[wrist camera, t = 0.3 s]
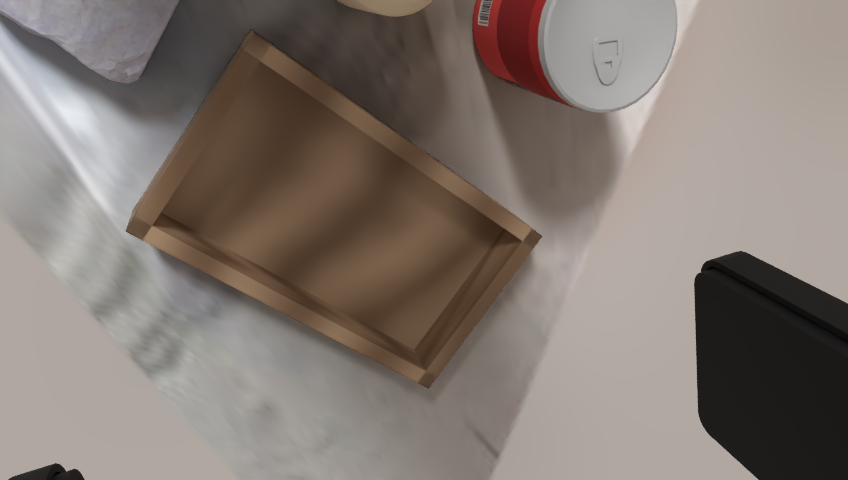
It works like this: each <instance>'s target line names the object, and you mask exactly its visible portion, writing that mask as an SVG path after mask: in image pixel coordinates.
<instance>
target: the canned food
mask: <svg viewBox="0 0 848 480" xmlns="http://www.w3.org/2000/svg"><path fill="white" fill-rule="evenodd" d="M676 33H677V9H676V4H675V0H477V1H476V3H475V7H474V13H473V35H474V41H475V44H476V47H477V50H478V52H479V55H480V57H481V58H482V60H483V62H484V64H485V65H486V66H487V67H488V69H489V70H490V71H491V72H492V73H493V74H494V75H495V76H497V77H498V78H499V79H501V80H503V81H505V82H507V83H509V84H512V85H514V86H517V87H520V88H522V89H525V90H528V91H530V92H533V93H536V94H538V95H541V96H544V97H546V98H549V99H552V100H554V101H557V102H560V103H562V104H565V105H568V106H571V107H575V108H577V109H580V110H584V111H590V112H597V113H605V112H614V111H617V110H621V109H624V108H626V107H628V106H630V105H632V104H634V103H636V102H637V101H639V100H640V99H641V98H642V97H644V96H645V95H646V94H647V93H648V92H649V91H650V90H651V89H652V88H653V87H654V86H655V84H656V83H657V82H658V80H659V79H660V77H661V76H662V74H663V73H664V71H665V69H666V67H667V65H668V63H669V60H670V58H671V56H672V52H673V49H674V45H675V41H676Z"/></svg>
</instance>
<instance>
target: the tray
mask: <svg viewBox="0 0 848 480" xmlns="http://www.w3.org/2000/svg"><path fill="white" fill-rule="evenodd" d="M126 232H128V233H130V234H131V235H133V236H135V237H137V238H139V239H141V240H143V241H145V242H147V243H149V244H151V245H153V246H155V247H157V248H158V249H160V250H162V251H164V252H166V253H168V254H170V255H172V256H174V257H176V258H178V259H180V260H182V261H184V262H185V263H187V264H189V265H191V266H193V267H195V268H197V269H199V270H201V271H203V272H205V273H207V274H209V275H211V276H212V277H214V278H216V279H218V280H220V281H222V282H224V283H226V284H228V285H230V286H232V287H234V288H236V289H238V290H239V291H241V292H243V293H245V294H247V295H249V296H251V297H253V298H255V299H257V300H259V301H261V302H263V303H265V304H267V305H268V306H270V307H272V308H274V309H276V310H278V311H280V312H282V313H284V314H286V315H288V316H290V317H292V318H294V319H295V320H297V321H299V322H301V323H303V324H305V325H307V326H309V327H311V328H313V329H315V330H317V331H319V332H321V333H322V334H324V335H326V336H328V337H330V338H332V339H334V340H336V341H338V342H340V343H342V344H344V345H346V346H348V347H349V348H351V349H353V350H355V351H357V352H359V353H361V354H363V355H365V356H367V357H369V358H371V359H373V360H375V361H376V362H378V363H380V364H382V365H384V366H386V367H388V368H390V369H392V370H394V371H396V372H398V373H400V374H402V375H403V376H405V377H407V378H409V379H411V380H413V381H415V382H417V383H419V384H421V385H423V386H425V387H427V388H429V387H430V386H431V385H432V383H433V382H434V381H435V379H436V378H437V376H438V375H439V374H440V372H441V371H442V370H443V368H444V367H445V366H446V364H447V363H448V362H449V360H450V359H451V358H452V356H453V355H454V354H455V352H456V351H457V350H458V348H459V347H460V346H461V344H462V343H463V342H464V340H465V339H466V338H467V336H468V335H469V334H470V332H471V331H472V330H473V328H474V327H475V326H476V324H477V323H478V322H479V320H480V319H481V318H482V316H483V315H484V314H485V312H486V311H487V310H488V308H489V307H490V306H491V304H492V303H493V302H494V300H495V299H496V298H497V296H498V295H499V294H500V292H501V291H502V290H503V288H504V287H505V285H506V284H507V283H508V281H509V280H510V279H511V277H512V276H513V275H514V273H515V272H516V271H517V269H518V268H519V267H520V265H521V264H522V263H523V261H524V260H525V259H526V257H527V256H528V255H529V253H530V252H531V251H532V249H533V248H534V247H535V245H536V244H537V243H538V241H539V240H540V239H541V237H542V236H541V235H540V234H539V233H537V232H536V231H535V230H534V229H532V228H531V227H530V226H528V225H527V224H526V223H525V222H523V221H522V220H521V219H520V218H518V217H517V216H515V215H514V214H512V213H511V212H510V211H508V210H507V209H505V208H504V207H502V206H501V205H500V204H498V203H497V202H495V201H494V200H493V199H491V198H490V197H488V196H487V195H485V194H484V193H483V192H481V191H480V190H478V189H477V188H476V187H474V186H473V185H471V184H470V183H468V182H467V181H466V180H464V179H463V178H461V177H460V176H458V175H457V174H456V173H454V172H453V171H451V170H450V169H449V168H447V167H446V166H444V165H443V164H441V163H440V162H439V161H437V160H436V159H434V158H433V157H431V156H430V155H429V154H427V153H426V152H424V151H423V150H422V149H420V148H419V147H417V146H416V145H414V144H413V143H412V142H410V141H409V140H407V139H406V138H404V137H403V136H402V135H400V134H399V133H397V132H396V131H395V130H393V129H392V128H390V127H389V126H387V125H386V124H385V123H383V122H382V121H380V120H379V119H378V118H376V117H375V116H373V115H372V114H370V113H369V112H368V111H366V110H365V109H363V108H362V107H360V106H359V105H358V104H356V103H355V102H353V101H352V100H351V99H349V98H348V97H346V96H345V95H343V94H342V93H341V92H339V91H338V90H336V89H335V88H333V87H332V86H331V85H329V84H328V83H326V82H325V81H324V80H322V79H321V78H319V77H318V76H316V75H315V74H314V73H312V72H311V71H309V70H308V69H306V68H305V67H304V66H302V65H301V64H299V63H298V62H297V61H295V60H294V59H292V58H291V57H289V56H288V55H287V54H285V53H284V52H282V51H281V50H280V49H278V48H277V47H275V46H274V45H272V44H271V43H270V42H268V41H267V40H265V39H264V38H262V37H261V36H260V35H258V34H257V33H255V32H254V31H253V30H251V29H250V31H249V32H248V34H247V36H246V37H245V39H244V40H243V42H242V43H241V45H240V46H239V48H238V49H237V51H236V52H235V54H234V55H233V57H232V59H231V60H230V62H229V63H228V65H227V66H226V68H225V69H224V71H223V72H222V74H221V75H220V77H219V79H218V80H217V82H216V83H215V85H214V86H213V88H212V89H211V91H210V92H209V94H208V95H207V97H206V99H205V100H204V102H203V103H202V105H201V106H200V108H199V109H198V111H197V112H196V114H195V115H194V117H193V119H192V120H191V122H190V123H189V125H188V126H187V128H186V129H185V131H184V132H183V134H182V135H181V137H180V139H179V140H178V142H177V143H176V145H175V146H174V148H173V149H172V151H171V152H170V154H169V155H168V157H167V159H166V160H165V162H164V163H163V165H162V166H161V168H160V169H159V171H158V172H157V174H156V175H155V177H154V179H153V180H152V182H151V183H150V185H149V186H148V188H147V189H146V191H145V192H144V194H143V195H142V197H141V199H140V200H139V202H138V203H137V205H136V206H135V208H134V209H133V211H132V214H131V217H130V220H129V223H128V226H127V229H126Z"/></svg>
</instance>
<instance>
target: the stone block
mask: <svg viewBox="0 0 848 480" xmlns="http://www.w3.org/2000/svg"><path fill="white" fill-rule="evenodd" d="M179 1H180V0H0V14H1V15H3V16H4V17H6V18H8V19H10V20H12V21H14V22H16V23H17V24H18V25H19V26H20V27H21V28H23V29H25V30H27V31H29V32H30V33H31V34H33V35H37V36H40V37H43V38H46V39H50V40H52V41H53V42H55V43H56V44H57V45H59V46H60V47H61V48H63V49H64V50H65V51H67V52H68V53H70V54H71V55H73V56H74V57H76V58H77V59H78V60H79V61H80V62H81V63H83V64H84V65H85V66H86V67H88V68H89V69H91V70H93V71H94V72H96V73H98V74H100V75H102V76H103V77H105V78H107V79H109V80H110V81H115V82H122V83H127V84H131V83H133V82H135V81H137V80H139V78H140V76H141V75H142V73H143V71H144V69H145V67H146V65H147V63H148V61H149V60H150V58H151V56H152V54H153V52H154V50H155V48H156V46H157V44H158V42H159V40H160V38H161V36H162V34H163V32H164V30H165V29H166V27H167V25H168V23H169V21H170V19H171V17H172V15H173V13H174V11H175V9H176V7H177V5H178V3H179Z"/></svg>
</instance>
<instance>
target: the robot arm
mask: <svg viewBox="0 0 848 480" xmlns="http://www.w3.org/2000/svg"><path fill="white" fill-rule="evenodd" d="M694 287H695V321H696V355H697V389H698V413H699V417H700V421H701V423H702V425H703V427H704V428H705V430H706V431H707V433H708V434H709V435H710V436H711V437H712V438H713V439H715V440H716V441H717V442H718V443H719V444H720V445H721V446H722V447H723V448H724V449H726V450H727V451H728V452H729V453H730V454H731V455H732V456H733V457H734V458H736V459H737V460H738V461H739V462H740V463H741V464H742V465H743V466H744V467H745V468H746V469H748V470H749V471H750V472H751V473H752V474H753V475H754V476H755V477H756V478H758V479H759V480H848V304H847V303H845V302H843V301H841V300H840V299H838V298H836V297H833V296H831V295H830V294H828V293H826V292H823V291H821V290H820V289H818V288H816V287H814V286H812V285H810V284H808V283H806V282H804V281H802V280H800V279H798V278H796V277H794V276H792V275H790V274H788V273H786V272H784V271H782V270H780V269H778V268H776V267H774V266H772V265H770V264H768V263H766V262H764V261H762V260H760V259H758V258H756V257H754V256H752V255H750V254H748V253H746V252H742V251H739V252H734V253H731V254H728V255H725V256H721V257H718V258H715V259H712V260H709V261H706V262H705V263H704V264H703V266H702V269H701V273H699V274H697V276H696V278H695V283H694ZM9 480H84V478H83V476H82V474H81V473H80V472H79V471H78V470H76V469H73V470H70V471H67V472H66V471H65V469H64V468H63V467H62V466H61V465H60V464H56V463H55V464H52V465H49V466H46V467H43V468H39V469H36V470H33V471H30V472H26V473H23V474H20V475H17V476H14V477H12V478H10V479H9Z"/></svg>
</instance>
